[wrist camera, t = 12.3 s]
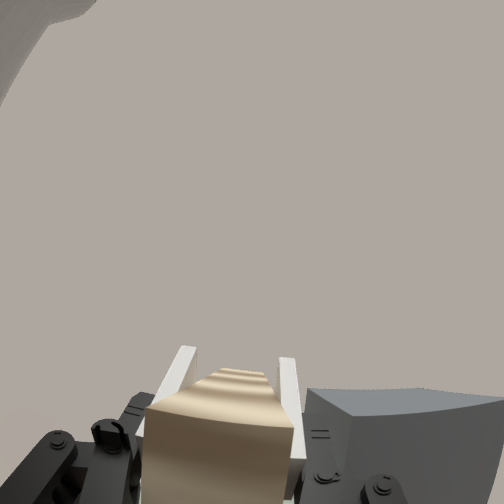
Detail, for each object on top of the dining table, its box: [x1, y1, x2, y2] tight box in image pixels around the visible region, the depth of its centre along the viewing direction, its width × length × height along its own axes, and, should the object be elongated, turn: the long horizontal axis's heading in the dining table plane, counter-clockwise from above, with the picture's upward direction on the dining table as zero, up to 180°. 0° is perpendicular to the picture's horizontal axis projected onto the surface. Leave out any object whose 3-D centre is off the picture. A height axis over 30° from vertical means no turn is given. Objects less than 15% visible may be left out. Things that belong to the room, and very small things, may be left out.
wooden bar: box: [141, 368, 294, 504], centre depth 18 cm, size 24×4×4 cm, turn 0°
